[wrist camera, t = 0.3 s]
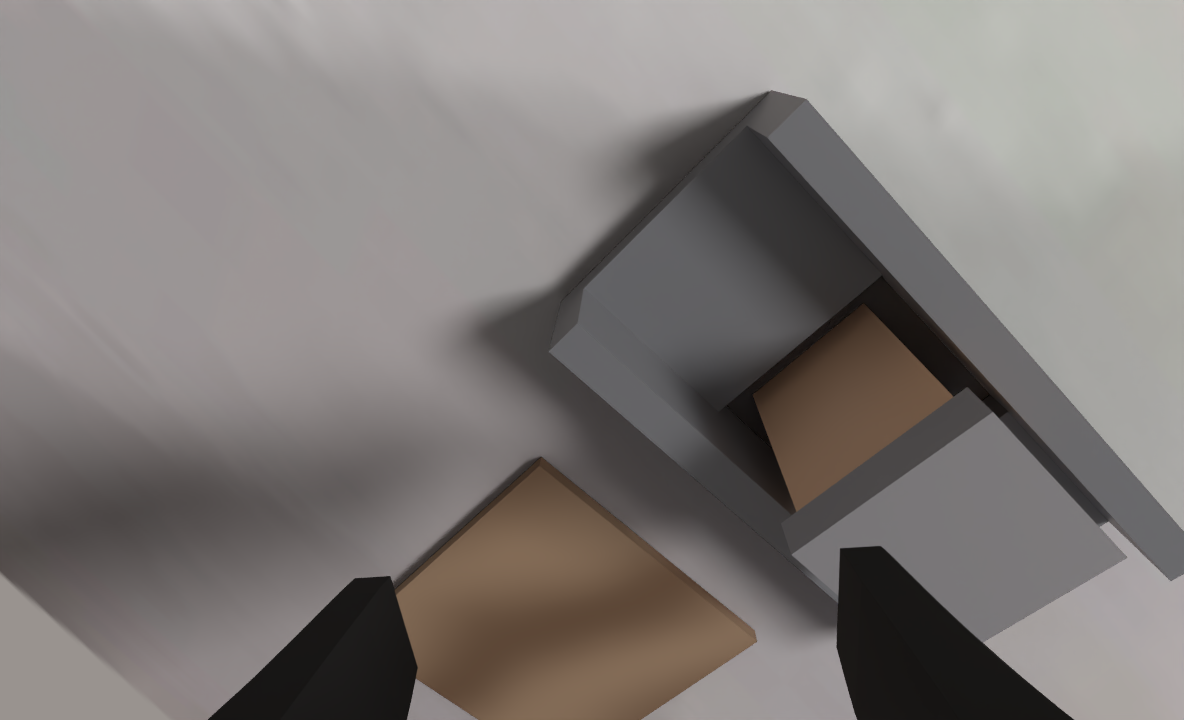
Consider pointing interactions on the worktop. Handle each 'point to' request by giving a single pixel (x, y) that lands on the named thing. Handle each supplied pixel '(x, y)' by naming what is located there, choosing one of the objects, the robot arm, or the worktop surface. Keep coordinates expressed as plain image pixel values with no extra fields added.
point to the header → (803, 322)
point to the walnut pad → (560, 612)
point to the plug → (921, 481)
